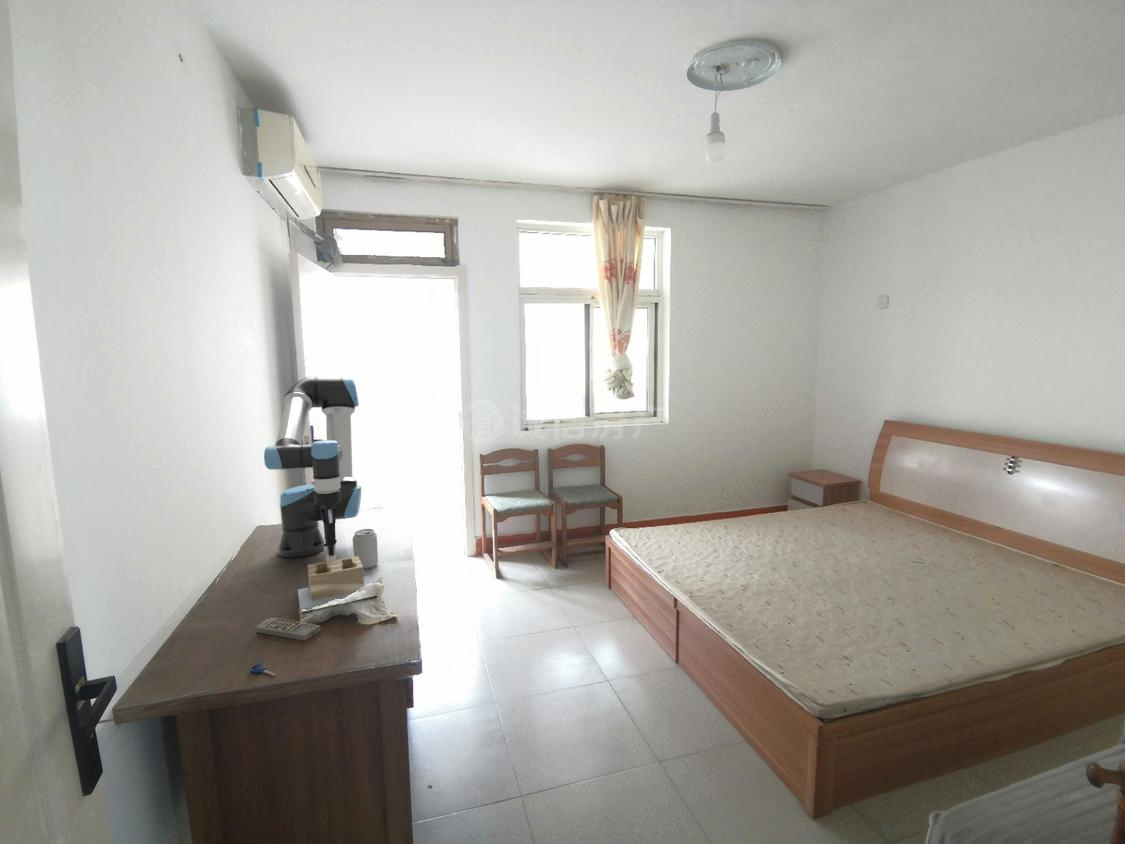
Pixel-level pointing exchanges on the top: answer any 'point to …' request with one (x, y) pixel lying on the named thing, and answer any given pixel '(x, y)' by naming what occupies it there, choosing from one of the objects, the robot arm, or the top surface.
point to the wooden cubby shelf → (335, 577)
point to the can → (366, 547)
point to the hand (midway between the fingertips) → (331, 564)
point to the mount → (308, 604)
